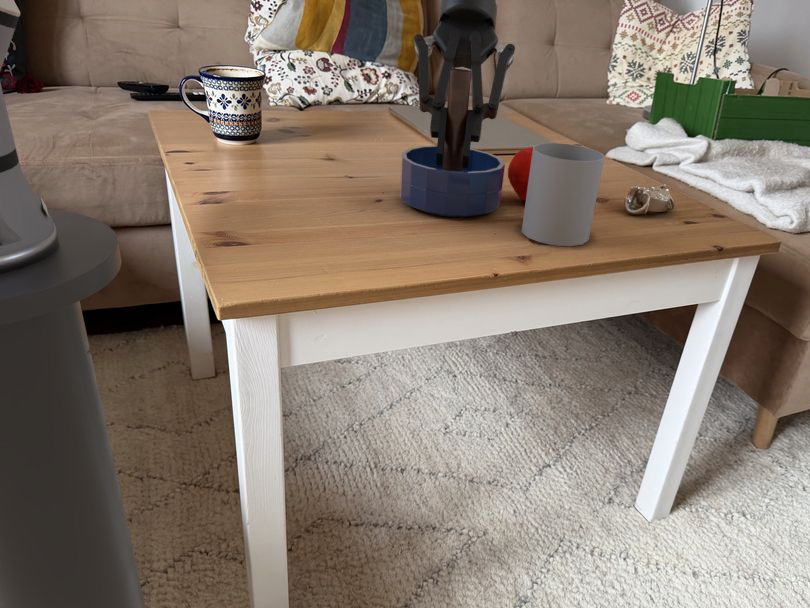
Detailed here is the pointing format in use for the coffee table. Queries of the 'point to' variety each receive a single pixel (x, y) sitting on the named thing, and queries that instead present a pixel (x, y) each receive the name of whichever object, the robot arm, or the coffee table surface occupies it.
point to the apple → (520, 172)
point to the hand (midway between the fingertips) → (452, 160)
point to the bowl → (451, 183)
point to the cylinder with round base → (456, 119)
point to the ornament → (648, 199)
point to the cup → (561, 193)
